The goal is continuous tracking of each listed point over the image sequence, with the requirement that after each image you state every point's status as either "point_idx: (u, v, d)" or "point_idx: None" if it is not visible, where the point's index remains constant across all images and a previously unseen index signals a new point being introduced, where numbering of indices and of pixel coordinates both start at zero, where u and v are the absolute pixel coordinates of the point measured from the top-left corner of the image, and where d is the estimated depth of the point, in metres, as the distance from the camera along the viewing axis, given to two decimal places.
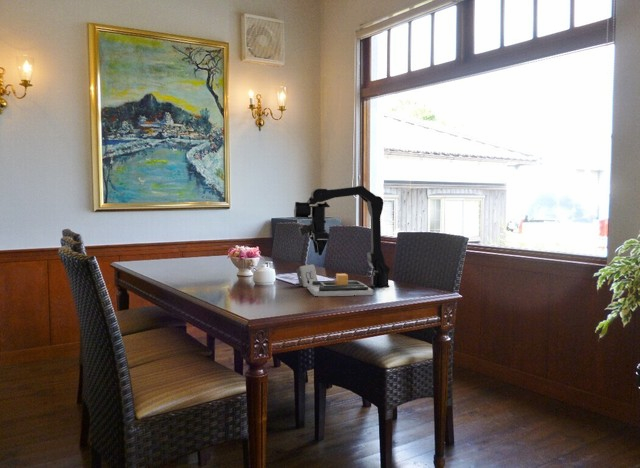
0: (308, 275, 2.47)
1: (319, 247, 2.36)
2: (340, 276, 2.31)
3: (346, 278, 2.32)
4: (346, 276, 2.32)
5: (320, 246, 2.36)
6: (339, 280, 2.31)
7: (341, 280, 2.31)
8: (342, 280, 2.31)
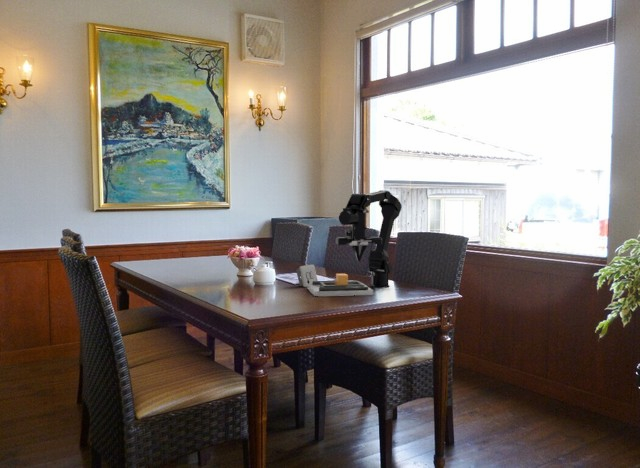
0: (308, 275, 2.47)
1: (355, 253, 2.35)
2: (340, 276, 2.31)
3: (346, 278, 2.32)
4: (346, 276, 2.32)
5: (355, 252, 2.34)
6: (339, 280, 2.31)
7: (341, 280, 2.31)
8: (342, 280, 2.31)
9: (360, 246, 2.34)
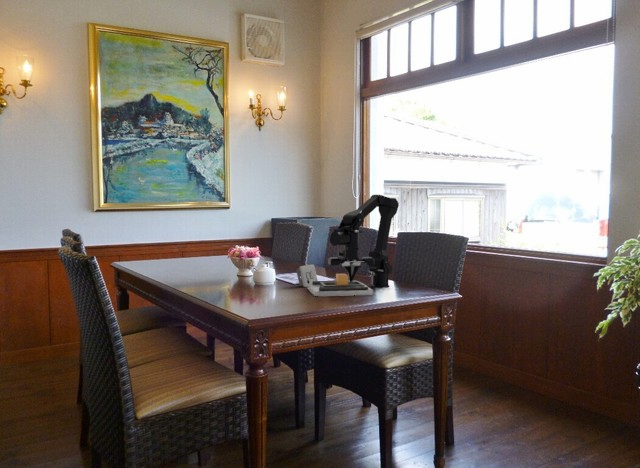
0: (308, 275, 2.47)
1: (347, 273, 2.35)
2: (340, 276, 2.31)
3: (346, 278, 2.32)
4: (346, 276, 2.32)
5: (347, 272, 2.34)
6: (339, 280, 2.31)
7: (341, 280, 2.31)
8: (342, 280, 2.31)
9: (352, 266, 2.34)
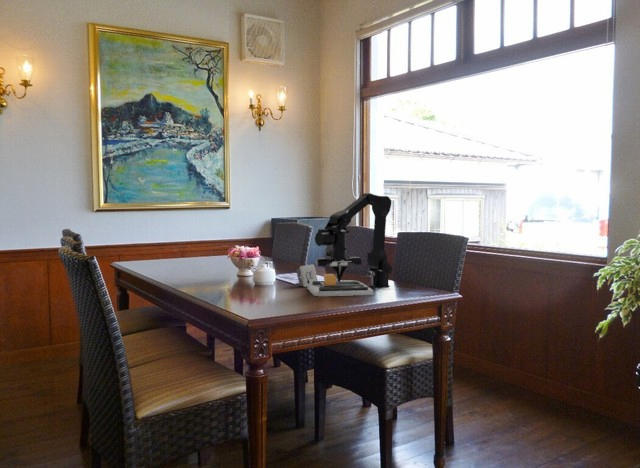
0: (308, 275, 2.47)
1: (335, 273, 2.34)
2: (328, 276, 2.30)
3: (334, 278, 2.31)
4: (334, 276, 2.31)
5: (335, 272, 2.33)
6: (327, 280, 2.30)
7: (329, 280, 2.30)
8: (330, 280, 2.31)
9: (340, 267, 2.33)
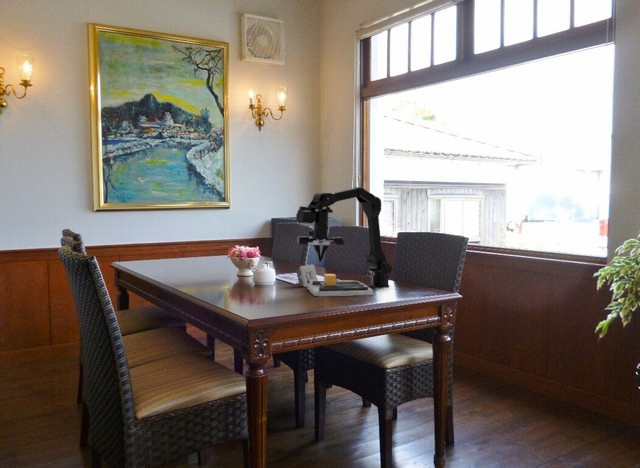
0: (308, 275, 2.47)
1: (316, 252, 2.31)
2: (328, 276, 2.30)
3: (334, 278, 2.31)
4: (334, 276, 2.31)
5: (316, 252, 2.31)
6: (327, 280, 2.30)
7: (329, 280, 2.30)
8: (330, 280, 2.31)
9: (322, 246, 2.31)
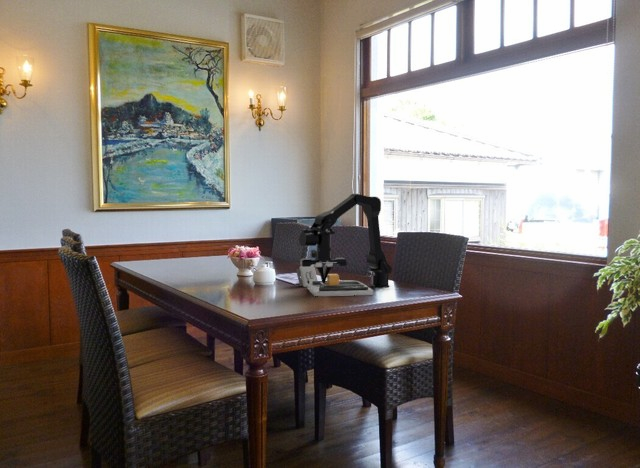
0: (308, 275, 2.47)
1: (320, 274, 2.33)
2: (331, 276, 2.31)
3: (337, 278, 2.31)
4: (337, 276, 2.31)
5: (320, 273, 2.32)
6: (330, 280, 2.31)
7: (332, 280, 2.31)
8: (333, 280, 2.31)
9: (325, 267, 2.32)
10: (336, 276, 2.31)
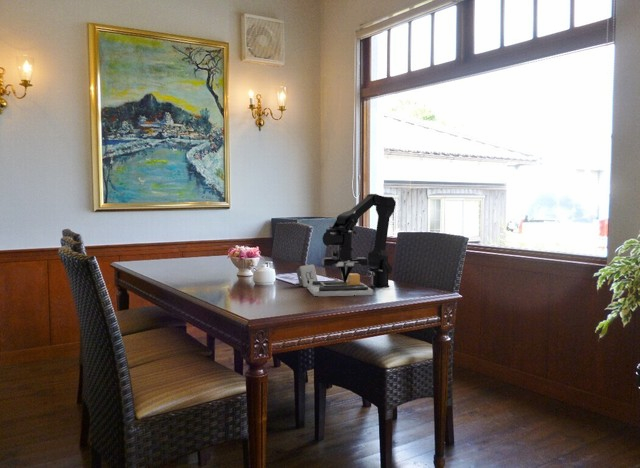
0: (308, 275, 2.47)
1: (341, 273, 2.34)
2: (352, 276, 2.32)
3: (358, 278, 2.33)
4: (358, 276, 2.33)
5: (341, 272, 2.34)
6: (351, 280, 2.32)
7: (353, 280, 2.32)
8: (354, 280, 2.32)
9: (346, 267, 2.34)
10: (357, 276, 2.33)
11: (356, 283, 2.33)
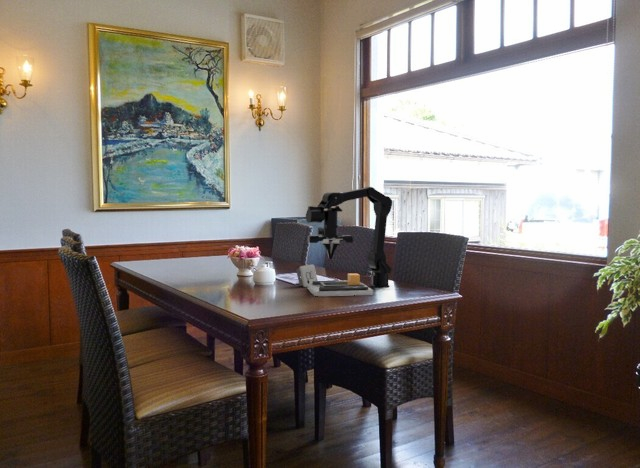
0: (308, 275, 2.47)
1: None
2: (352, 276, 2.32)
3: (358, 278, 2.33)
4: (358, 276, 2.33)
5: (327, 250, 2.37)
6: (351, 280, 2.32)
7: (353, 280, 2.32)
8: (354, 280, 2.32)
9: (332, 244, 2.37)
10: (357, 276, 2.33)
11: (356, 283, 2.33)
